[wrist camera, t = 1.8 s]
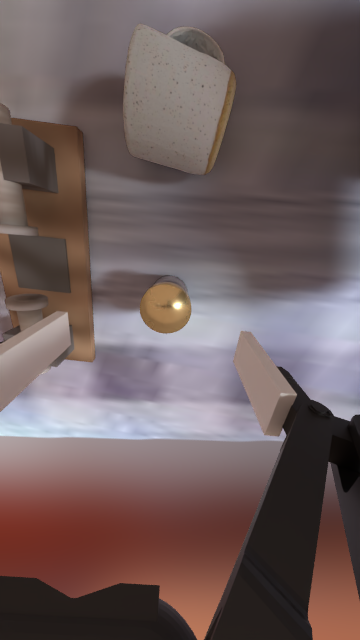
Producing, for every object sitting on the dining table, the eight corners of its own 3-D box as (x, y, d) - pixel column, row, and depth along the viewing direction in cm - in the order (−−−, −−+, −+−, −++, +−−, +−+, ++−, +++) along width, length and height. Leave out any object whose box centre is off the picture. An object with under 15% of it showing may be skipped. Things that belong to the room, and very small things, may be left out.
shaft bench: (-25, 118, 21) (-112, 67, 14) (82, 132, 21) (40, 89, 15) (25, 350, 31) (-14, 377, 25) (95, 357, 32) (73, 386, 25)
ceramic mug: (207, 187, 23) (218, 162, 15) (136, 167, 22) (113, 131, 15) (239, 59, 19) (274, -53, 12) (154, 30, 18) (135, -107, 11)
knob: (172, 264, 26) (168, 273, 19) (197, 296, 27) (201, 314, 21) (142, 289, 27) (129, 306, 21) (167, 318, 29) (162, 342, 22)
